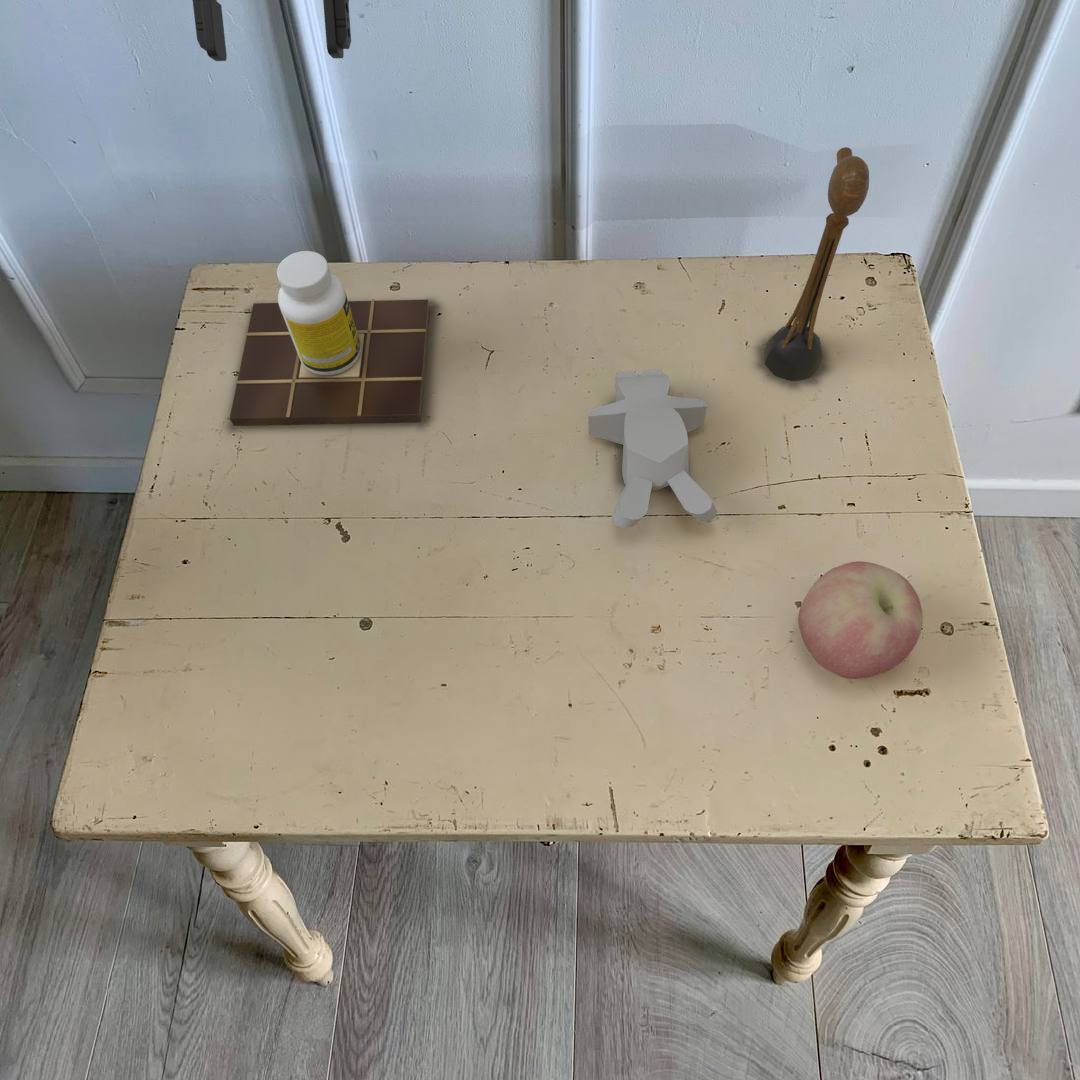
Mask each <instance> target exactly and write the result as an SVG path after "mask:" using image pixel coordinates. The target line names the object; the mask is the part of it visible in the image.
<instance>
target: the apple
mask: <svg viewBox="0 0 1080 1080" xmlns="http://www.w3.org/2000/svg"><path fill="white" fill-rule="evenodd" d="M919 597H920V596H919V595H918V594H917V591H916V589H915V588H914V587H913V585H912V584H911V582H910V581H909V580H908V579H907V578H906V577H905V576H904V575H902V574H900V573H898V572H897V571H895V570H893V569H891V568H889V567H887V566H885V565H881V564H879V563H878V564H877V563H874V562H870V561H861V560H860V561H850V562H847V563H844V564H841V565H838V566H836V567H833V568H831V569H829V570H828V571H826V572H824V574H822V575H821V576H820V577H819V578H818V579H817V580H815V582H813V584H812V585H811V587H810V588H809V589H808V591H807V593H806V595H805V596H804V598H803V600H802V603H801V605H800V608H799V612H798V619H797V624H798V628H799V632H800V636H801V639H802V641H803V643H804V645H805V647H806V649H807V650H808V652H809V653H810V655H811V656H812V657H813V659H814V661H815V662H816V663H817V664H818V665H819V666H820V667H821V668H823V669H825V670H826V671H828V672H830V673H831V674H833V675H836V676H838V677H840V678H843V679H844V678H845V679H850V680H860V679H861V680H862V679H867V678H872V677H875V676H878V675H882V674H884V673H887V672H888V671H891V670H892V669H894V668H896V667H897V666H899V665H900V664H901V663H902V662H904V661H905V660H906V659H907V658H908V657H909V655H910V654H911V653H912V651H913V649H914V648H915V647H916V645H917V643H918V641H919V638H920V635H921V632H922V628H923V624H924V623H923V622H924V619H923V618H924V616H923V615H924V614H923V609H922V604H921V600H920V598H919Z"/></svg>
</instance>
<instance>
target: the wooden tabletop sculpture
mask: <svg viewBox="0 0 1080 1080" xmlns="http://www.w3.org/2000/svg"><path fill="white" fill-rule="evenodd" d="M830 175H831V176H830V178H829V182H828V188H827V201H828V205H829V207H830V209H831V211H832V213H829V214H828V215H827V216H826V217H825V226H824V229H823V232H822V235H821V239H820V241H819V245H818V248H817V251H816V253H815V257H814V260H813V262H812V266H811V269H810V272H809V274H808V277H807V280H806V282H805V285H804V287H803V290H802V292H801V295H800V298H799V299H798V302H797V303H796V307H795V308H794V310H793V313H792V314H791V316H790V318H789V319H788V320H787V322H786V324H785V325H784V326H782V327H780V328H779V329H778V330H777V331H776V332H775V333H774V334H773V335H772V336H771V337H770V338H769V339H768V340H767V343H766V344H765V346H764V350H763V353H764V354H763V355H764V358H763V359H764V361H763V362H764V363H763V364H764V365H765V366H766V368H767V369H768V370H769V371H770V372H771V373H772V374H773V375H774V376H775V377H778V378H780V379H785V380H788V381H791V382H795V381H800V380H805V379H810V378H811V377H812V375H814V373H815V372H816V371H817V370H818V369H819V368H820V365H821V363H822V355H823V353H822V341H821V338H820V337H819V336H818V335H817V333H816V332H815V331H814V330H815V326H816V322H817V321H816V320H817V316H818V311H819V308H820V303H821V299H822V297H823V292H824V289H825V286H826V282H827V280H828V276H829V274H830V271H831V270H830V269H831V267H832V264H833V261H834V259H835V256H836V252H837V250H838V247H839V244H840V240H841V238H842V235H843V232H844V229H846V228H847V227H848V226H849V224H850V223H849V222H850V221H849V216H852V215H854V214H856V213H857V212H858V211H859V210H860V209H861V207H862V206H863V204H864V202H865V201H866V199H867V195H868V191H869V188H870V170H869V165H868V164H867V163H866V162H865V160H864V159H863V158H861V157H859V156H856V155H853V150H852V149H851V148H850V147H844V146H843V147H841V148H840V149H838V150H837V152H836V165H835V166H834V167H833V171H832V172H831V174H830Z"/></svg>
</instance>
